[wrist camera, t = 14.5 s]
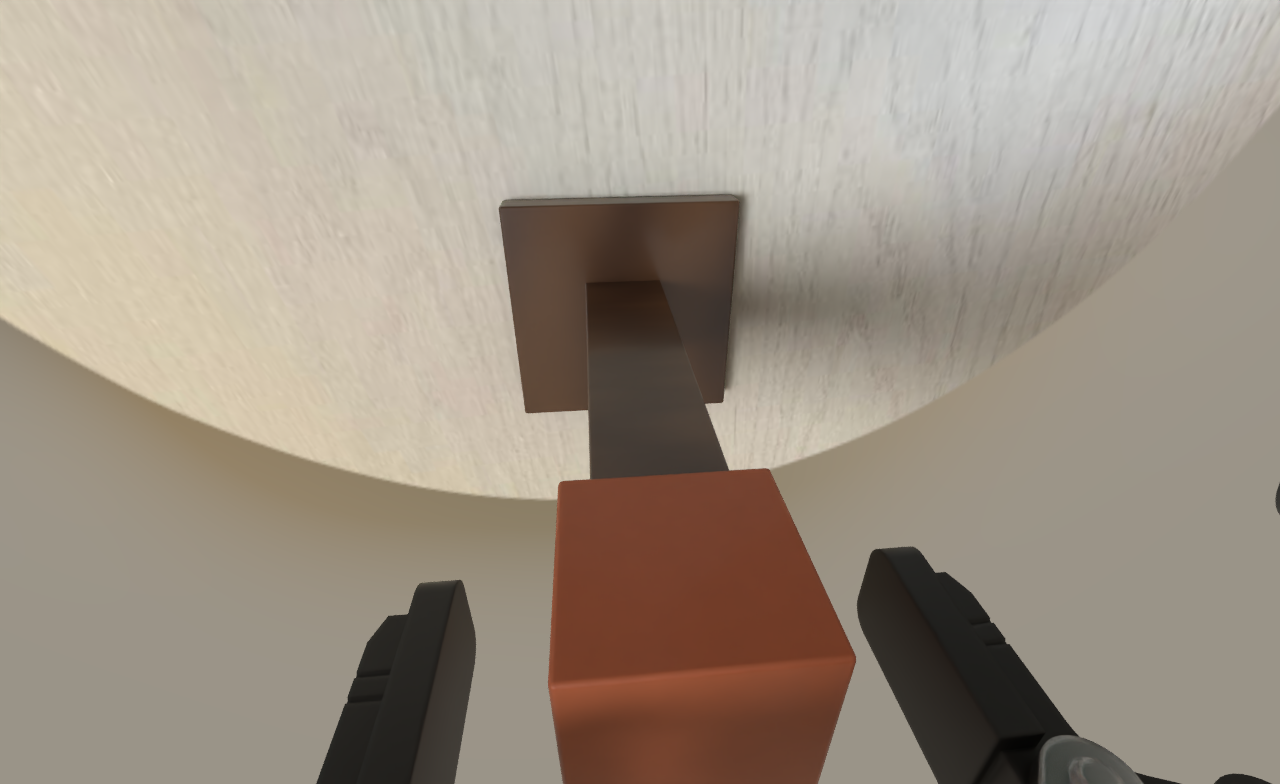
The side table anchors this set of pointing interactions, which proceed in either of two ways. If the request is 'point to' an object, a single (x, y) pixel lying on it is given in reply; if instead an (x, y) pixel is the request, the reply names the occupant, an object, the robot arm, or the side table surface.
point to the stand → (626, 322)
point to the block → (690, 634)
